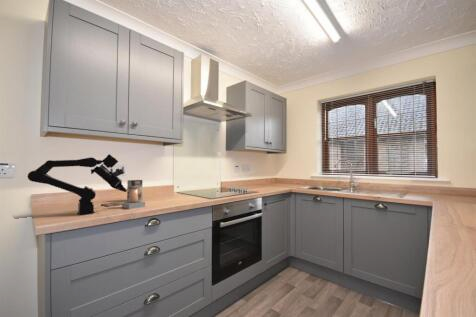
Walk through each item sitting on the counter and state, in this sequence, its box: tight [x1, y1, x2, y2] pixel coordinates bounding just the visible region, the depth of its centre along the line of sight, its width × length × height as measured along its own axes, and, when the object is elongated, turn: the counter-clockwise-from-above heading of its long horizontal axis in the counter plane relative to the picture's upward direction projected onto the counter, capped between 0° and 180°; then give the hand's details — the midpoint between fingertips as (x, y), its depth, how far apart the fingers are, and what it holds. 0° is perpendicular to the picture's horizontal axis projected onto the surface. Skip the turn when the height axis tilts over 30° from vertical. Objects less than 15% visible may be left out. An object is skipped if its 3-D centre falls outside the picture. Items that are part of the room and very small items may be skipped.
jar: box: [128, 186, 139, 204], centre depth 142 cm, size 6×6×13 cm
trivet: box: [100, 201, 122, 208], centre depth 151 cm, size 12×12×2 cm
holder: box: [121, 200, 146, 210], centre depth 141 cm, size 10×10×4 cm
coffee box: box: [126, 179, 143, 202], centre depth 174 cm, size 9×6×16 cm
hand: (125, 190), depth 139 cm, fingers open, 9 cm apart
